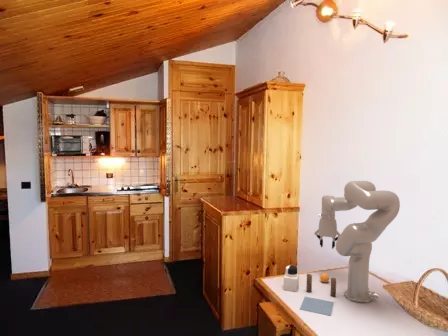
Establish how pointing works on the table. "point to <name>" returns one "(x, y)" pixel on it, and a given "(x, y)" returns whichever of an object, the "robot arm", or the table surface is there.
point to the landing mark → (317, 306)
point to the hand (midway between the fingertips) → (327, 246)
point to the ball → (324, 277)
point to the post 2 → (333, 287)
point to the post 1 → (309, 283)
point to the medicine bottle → (291, 279)
